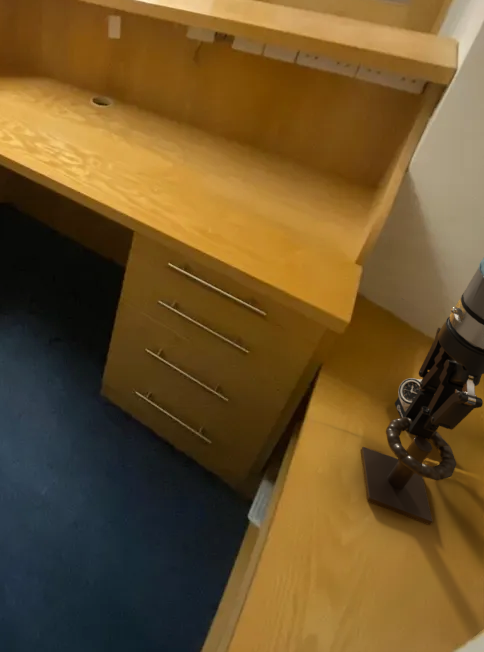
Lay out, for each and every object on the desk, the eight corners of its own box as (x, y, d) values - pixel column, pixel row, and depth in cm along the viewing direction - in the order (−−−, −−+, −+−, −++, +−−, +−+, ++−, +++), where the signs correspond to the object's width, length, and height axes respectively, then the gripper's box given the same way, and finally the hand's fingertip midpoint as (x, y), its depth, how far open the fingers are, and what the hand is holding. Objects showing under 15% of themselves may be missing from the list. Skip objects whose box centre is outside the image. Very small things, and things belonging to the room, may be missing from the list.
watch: (382, 403, 100) (402, 369, 94) (427, 412, 98) (451, 377, 93) (392, 431, 95) (415, 397, 89) (440, 441, 94) (466, 406, 88)
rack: (418, 470, 89) (449, 428, 83) (430, 525, 82) (465, 484, 75) (360, 449, 92) (386, 407, 86) (367, 501, 85) (395, 459, 78)
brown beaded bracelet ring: (441, 431, 84) (445, 425, 83) (461, 490, 77) (466, 485, 76) (378, 414, 87) (382, 408, 86) (392, 470, 79) (397, 464, 78)
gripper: (435, 286, 79) (383, 378, 91) (463, 368, 67) (398, 462, 79) (494, 301, 77) (432, 393, 89) (534, 389, 65) (456, 482, 77)
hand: (416, 425), depth 84 cm, fingers closed on brown beaded bracelet ring, 2 cm apart
